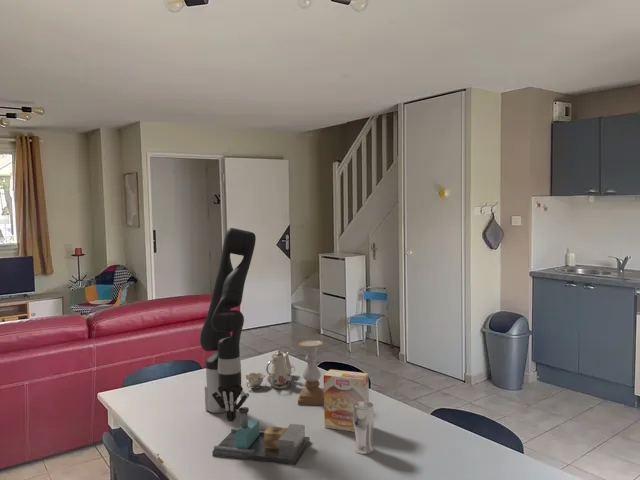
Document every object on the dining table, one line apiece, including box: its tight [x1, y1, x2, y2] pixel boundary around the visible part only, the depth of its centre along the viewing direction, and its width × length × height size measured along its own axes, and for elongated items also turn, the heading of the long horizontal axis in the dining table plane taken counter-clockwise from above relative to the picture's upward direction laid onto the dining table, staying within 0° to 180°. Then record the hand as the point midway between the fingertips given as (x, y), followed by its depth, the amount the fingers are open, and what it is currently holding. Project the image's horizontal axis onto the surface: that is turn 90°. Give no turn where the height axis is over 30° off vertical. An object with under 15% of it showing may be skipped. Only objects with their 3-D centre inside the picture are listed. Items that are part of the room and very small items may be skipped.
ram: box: [235, 406, 260, 449], centre depth 171 cm, size 5×11×11 cm, turn 165°
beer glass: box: [353, 401, 375, 455], centre depth 167 cm, size 7×7×15 cm
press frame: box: [211, 423, 311, 466], centre depth 170 cm, size 28×16×6 cm, turn 75°
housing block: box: [264, 426, 288, 449], centre depth 168 cm, size 6×5×5 cm
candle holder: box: [297, 339, 324, 406], centre depth 210 cm, size 11×11×24 cm
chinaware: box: [244, 349, 296, 389], centre depth 232 cm, size 28×17×17 cm, turn 143°
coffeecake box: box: [323, 368, 370, 433], centre depth 184 cm, size 15×7×20 cm, turn 68°
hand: (231, 420), depth 172 cm, fingers closed
